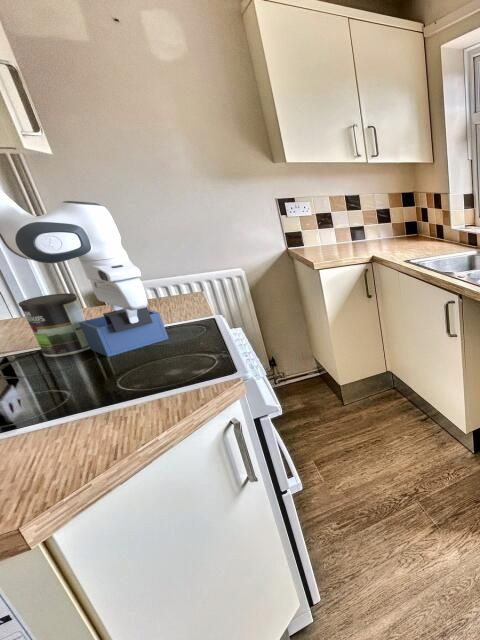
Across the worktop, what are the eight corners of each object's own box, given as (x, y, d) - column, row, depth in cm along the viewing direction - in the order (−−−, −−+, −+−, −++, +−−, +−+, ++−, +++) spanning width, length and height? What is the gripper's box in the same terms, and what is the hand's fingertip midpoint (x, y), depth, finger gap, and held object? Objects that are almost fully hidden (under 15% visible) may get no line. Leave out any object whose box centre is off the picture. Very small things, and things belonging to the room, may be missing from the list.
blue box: (108, 357, 107) (96, 328, 104) (90, 349, 112) (78, 322, 109) (168, 338, 118) (159, 312, 115) (150, 332, 123) (141, 307, 120)
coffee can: (60, 359, 107) (34, 306, 101) (34, 354, 109) (8, 303, 104) (106, 343, 116) (85, 294, 110) (81, 340, 118) (59, 291, 113)
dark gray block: (116, 332, 107) (109, 315, 105) (109, 330, 108) (102, 313, 107) (153, 322, 113) (146, 306, 111) (146, 320, 115) (140, 304, 113)
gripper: (75, 267, 107) (97, 318, 112) (110, 275, 98) (132, 331, 103) (106, 262, 112) (125, 311, 117) (143, 270, 103) (162, 323, 108)
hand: (129, 321), depth 110 cm, fingers closed on dark gray block, 4 cm apart
